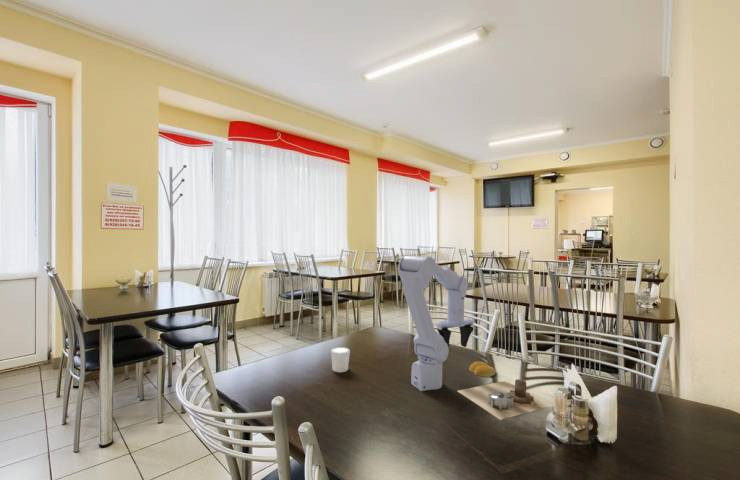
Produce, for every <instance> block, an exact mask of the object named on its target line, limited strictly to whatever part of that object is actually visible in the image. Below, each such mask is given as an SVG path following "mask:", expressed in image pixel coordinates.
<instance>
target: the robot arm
mask: <svg viewBox="0 0 740 480" xmlns="http://www.w3.org/2000/svg"><path fill="white" fill-rule="evenodd" d="M397 272H398V276H399V279H400V281H401V284H402V289H403V290H402V291H403V294H404V298H405V300H406V303H407V306H408V309H409V312H410V316H411V318H412V321H413V324H414V327H415V329H416V334H415V335H414V338H413V339H412V341H413V343H414V347H413V348H414V349H413V350H414V352H415V353H414V354H415V355H417V359H418V360H417V361H414V362H412V364H411V373H410V383H411V385H412V386H413V387H414V388H416V389H417V390H418V391H420V392H424V391H431V390H439V389H441V388H442V387H443V363H444V362H445V361H446V360H447V358H448V356H449V351H450V338H451V334H452V331H451V330H449V329H450V328H451V329H452V328H459V334H460V345H461V347H464V348H467V346H468V342H469V338H470V336H471V334H472V332H473V331H474V327H473V326H474V322H475V321H474V319H471V318H469V319H468V318H467V319H465V298H466V296H467V290H468V288H469V282H468V279H467V277H466V276H464V275H459V274H458V273H457V272H456V271H453V270H452V268H451V267H450V266H444V267H442V266H440V264H438V263H437V262H436V259H435V258H433V257H431V256H419V255H418V256H417V255H408V254H404V255H402V256H401V258H400V259H399V262H398V266H397ZM433 276H434V277H435V279H436V281H437V282H438V283H439V284H441V285H443V286H444V288H445V290H446V291H447V311H446V313H447V314H446V315H447V317H446V320H443V321H440V322H436V329H437V331H436V330H435V327H434V323H433V319H432V317H431V314H430V310H429V308H428V304H427V301H426V297H425V294H424V292H423V290H425V289H427V288H428V287H429V285H430V282H431V280H432V278H433Z"/></svg>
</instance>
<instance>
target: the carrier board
mask: <svg viewBox="0 0 740 480" xmlns="http://www.w3.org/2000/svg"><path fill="white" fill-rule="evenodd" d="M510 390H513V391H515V384H513V383H511V382H509V381H507V380H502V381H498V382H494V383H493V382H491V383H488V384H483V385H479V386H474V387H470V388H464V389H460V390H457V392H458V393H459V394H460V395H463V396H464V398H467V399H468V400H469V401H472V402H473V403H474V404H476V405H478V406H479V407H480V408H482V409H483V410H484V411H487V412H488V413H489V414H491V415H492V416H493V417H495V418H497V419H498V420H500V421H501V420H505V419H509V418H513V417H516V416H519V415H524V414H528V413H531V412H535V411H539V410H542V409H546V408H550V407H554V406H553V405H554V404H552V403H550V402H547V401H546V400H544V399H543V398H540V397H538V396H536V395H534V394H533V393H530V392H529V391H527V390H526V393H530V395H531V396H532V397H533V400H534V405H533V406H529V407H523V406H518V405H515V404H513V408H512V407H511V410H509V411H508V410H502V411H501V410H499V409H497V408H492V407H491V404H489V403H488V399H489V394H491V393H492V391H494V392H500V391H501V392H503V393H506V394H507V393H510Z"/></svg>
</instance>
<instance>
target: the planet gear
mask: <svg viewBox="0 0 740 480" xmlns="http://www.w3.org/2000/svg"><path fill="white" fill-rule="evenodd" d="M514 385H515V391H513V390H510V393H507V394H510V395H511V398H513V402H516V403H519V404H520V405H522V404H529V405H530V404H531V402H533V397H532V396H531V395H530V392H529V393H526V391H527V382H526V381H525V380H523V379H515V380H514Z"/></svg>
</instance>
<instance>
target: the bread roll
mask: <svg viewBox="0 0 740 480" xmlns="http://www.w3.org/2000/svg"><path fill="white" fill-rule="evenodd" d="M468 370H469V372H472V373H474V375H476V376H479V377H484V378H485V377H486V378H489V377H490V378H491V377H493V376H495V375H496V371H495V368H494V367H492V366H490V365H489V364H488V363H486V362H484V361H474V362H473V363H472V364H470V365H469V369H468Z"/></svg>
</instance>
